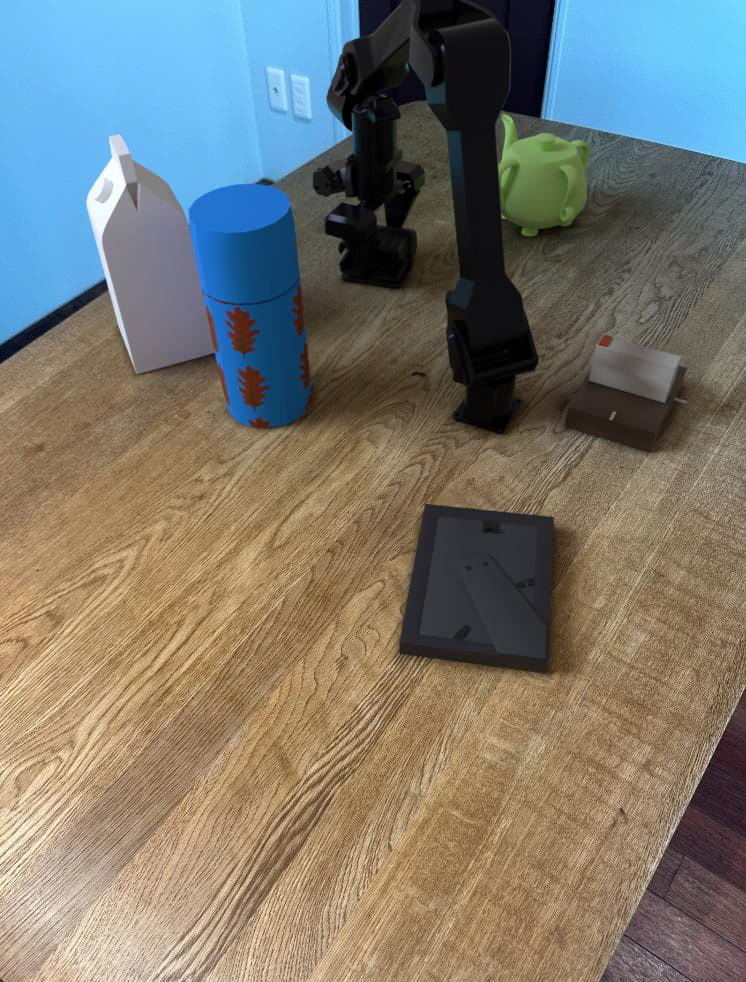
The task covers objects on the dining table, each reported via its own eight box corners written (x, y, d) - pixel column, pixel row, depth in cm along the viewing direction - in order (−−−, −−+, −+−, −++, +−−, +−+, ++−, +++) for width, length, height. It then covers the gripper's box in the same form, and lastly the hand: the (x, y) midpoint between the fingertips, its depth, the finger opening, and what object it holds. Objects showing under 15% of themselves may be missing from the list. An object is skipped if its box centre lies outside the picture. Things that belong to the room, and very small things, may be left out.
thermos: (300, 433, 97) (276, 236, 78) (215, 425, 99) (172, 231, 80) (320, 377, 104) (302, 184, 85) (240, 371, 106) (205, 180, 87)
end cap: (417, 264, 120) (417, 221, 115) (402, 290, 116) (403, 246, 111) (353, 256, 123) (351, 213, 118) (337, 280, 119) (334, 237, 114)
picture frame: (545, 673, 73) (551, 529, 85) (548, 660, 72) (554, 514, 83) (399, 653, 76) (424, 515, 87) (399, 640, 74) (424, 501, 85)
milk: (220, 351, 109) (181, 154, 89) (136, 374, 106) (77, 177, 87) (197, 306, 116) (156, 115, 97) (118, 326, 114) (60, 135, 95)
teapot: (466, 230, 126) (471, 148, 117) (496, 190, 134) (503, 109, 125) (568, 249, 121) (582, 164, 112) (593, 205, 129) (608, 122, 120)
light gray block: (670, 392, 93) (682, 354, 90) (664, 403, 92) (676, 365, 88) (594, 370, 97) (603, 333, 93) (588, 380, 96) (596, 343, 92)
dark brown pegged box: (663, 457, 91) (670, 436, 88) (550, 423, 96) (554, 402, 93) (694, 391, 98) (701, 369, 96) (588, 362, 103) (592, 341, 101)
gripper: (356, 109, 114) (360, 216, 126) (284, 164, 104) (296, 275, 115) (427, 122, 110) (425, 231, 122) (360, 180, 100) (364, 293, 111)
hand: (377, 256), depth 118 cm, fingers open, 9 cm apart
